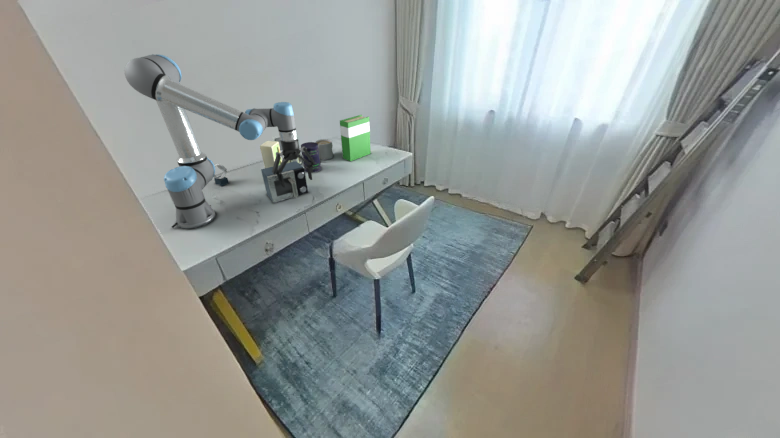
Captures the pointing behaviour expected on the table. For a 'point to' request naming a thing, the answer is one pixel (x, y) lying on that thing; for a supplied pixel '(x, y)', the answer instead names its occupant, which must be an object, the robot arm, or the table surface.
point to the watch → (221, 179)
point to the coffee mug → (325, 149)
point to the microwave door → (277, 189)
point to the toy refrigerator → (270, 153)
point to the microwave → (290, 166)
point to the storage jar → (312, 155)
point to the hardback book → (355, 137)
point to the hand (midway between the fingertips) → (297, 182)
